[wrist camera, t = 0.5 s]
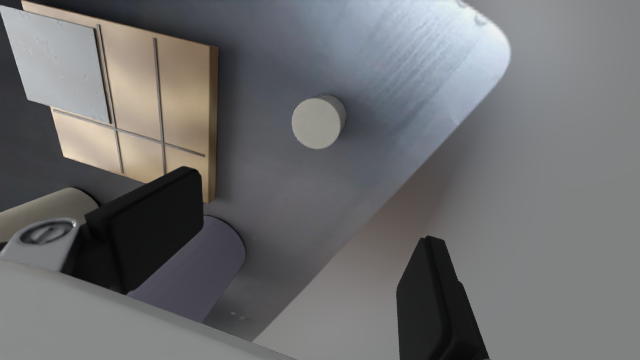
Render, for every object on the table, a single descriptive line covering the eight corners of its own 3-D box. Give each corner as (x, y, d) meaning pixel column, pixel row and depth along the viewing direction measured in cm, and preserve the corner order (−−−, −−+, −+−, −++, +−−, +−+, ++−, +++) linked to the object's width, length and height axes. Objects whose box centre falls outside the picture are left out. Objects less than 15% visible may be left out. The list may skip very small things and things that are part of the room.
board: (16, -3, 27) (-6, -7, 26) (219, 47, 25) (208, 45, 23) (58, 147, 35) (43, 151, 34) (215, 198, 33) (207, 204, 31)
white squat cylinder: (308, 89, 24) (295, 92, 21) (351, 100, 24) (346, 105, 20) (300, 132, 26) (288, 141, 23) (340, 143, 26) (333, 155, 22)
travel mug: (64, 177, 38) (-173, 256, 22) (109, 205, 38) (-92, 305, 22) (62, 212, 41) (-142, 302, 25) (103, 238, 41) (-73, 343, 25)
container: (185, 203, 34) (58, 288, 21) (252, 231, 33) (166, 339, 20) (181, 255, 39) (75, 352, 25) (240, 281, 38) (163, 395, 25)
